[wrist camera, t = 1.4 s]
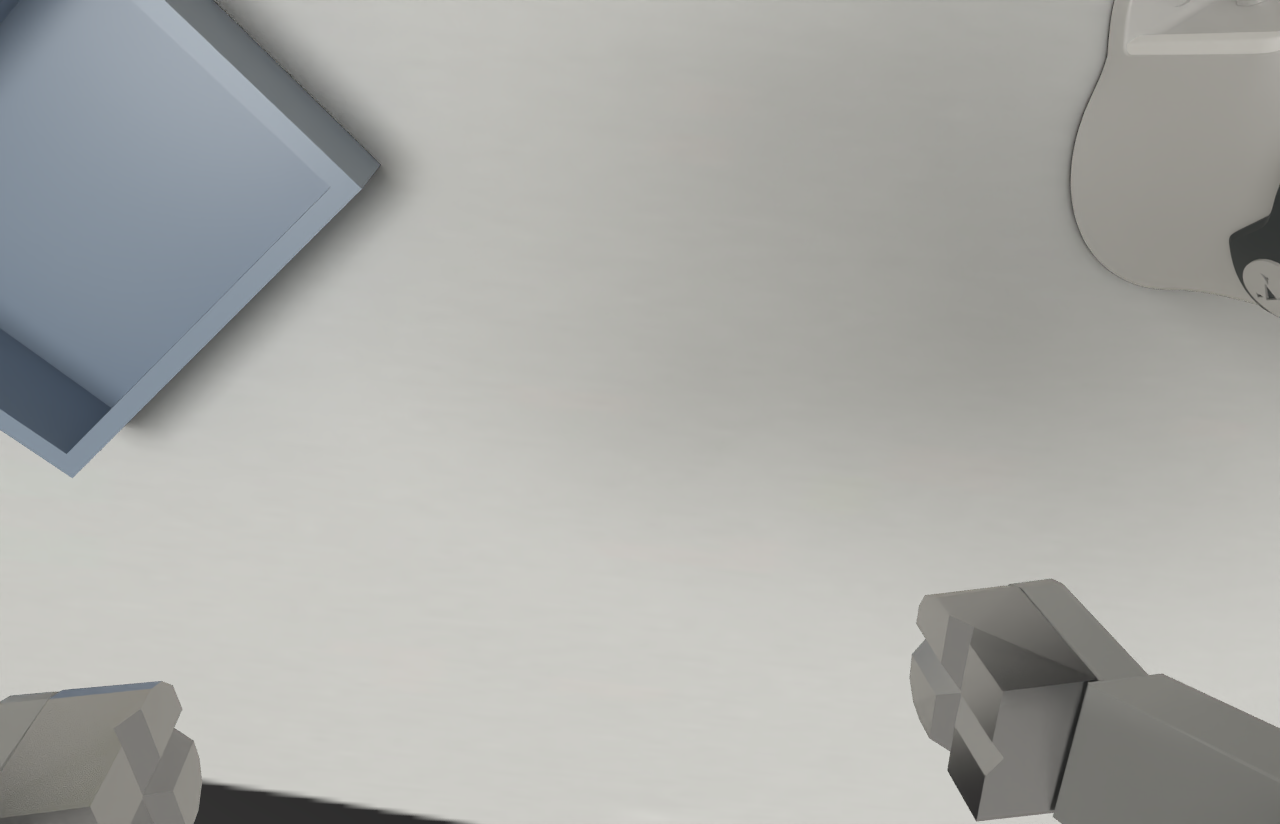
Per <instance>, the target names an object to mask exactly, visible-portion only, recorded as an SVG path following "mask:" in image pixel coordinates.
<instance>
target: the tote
mask: <svg viewBox="0 0 1280 824" xmlns="http://www.w3.org/2000/svg"><path fill="white" fill-rule="evenodd" d="M379 166H380V164H379V163H378V162H377V161H376V160H375V159H374V158H373V157H372V156H371V155H370V154H369V153H368V152H367V151H366V150H365V149H364V148H363V147H362V146H361V145H360V144H359V143H358V142H357V141H356V140H355V139H354V138H353V137H352V136H351V135H350V134H349V133H348V132H347V131H346V130H345V129H344V128H343V127H342V126H341V125H340V124H338V123H337V122H336V121H335V120H334V119H333V118H332V117H331V116H330V115H329V114H328V113H327V112H326V111H325V110H324V109H323V108H322V107H321V106H320V105H319V104H318V103H317V102H316V101H315V100H314V99H313V98H312V97H311V96H310V95H309V94H308V93H307V92H306V91H305V90H304V89H303V88H302V87H301V86H300V85H299V84H298V83H297V82H296V81H295V80H294V79H293V78H292V77H291V76H290V75H289V74H288V73H287V72H286V71H284V70H283V69H282V68H281V67H280V66H279V65H278V64H277V63H276V62H275V61H274V60H273V59H272V58H271V57H270V56H269V55H268V54H267V53H266V52H265V51H264V50H263V49H262V48H261V47H260V46H259V45H258V44H257V43H256V42H255V41H254V40H253V39H252V38H251V37H250V36H249V35H248V34H247V33H246V32H245V31H244V30H243V29H242V28H241V27H240V26H239V25H238V24H237V23H236V22H235V21H234V20H233V19H231V18H230V17H229V16H228V15H227V14H226V13H225V12H224V11H223V10H222V9H221V8H220V7H219V6H218V5H217V4H216V3H215V2H214V1H213V0H0V430H1V431H3V432H4V433H6V434H7V435H9V436H10V437H12V438H13V439H15V440H16V441H18V442H19V443H21V444H22V445H24V446H25V447H27V448H28V449H30V450H31V451H33V452H34V453H36V454H37V455H39V456H40V457H42V458H43V459H45V460H46V461H48V462H49V463H51V464H52V465H54V466H55V467H57V468H58V469H60V470H61V471H63V472H64V473H66V474H67V475H69V476H70V477H72V478H73V477H74V476H75V475H76V474H77V473H78V472H79V471H80V470H81V469H82V468H83V467H84V466H85V465H86V464H87V463H88V462H89V461H90V460H91V459H92V458H93V457H94V456H95V455H96V454H97V453H98V452H99V451H100V450H101V449H102V448H103V447H104V446H105V445H106V444H107V443H108V442H109V441H110V440H111V439H112V438H113V437H114V436H115V435H116V434H117V433H118V432H119V431H120V430H121V429H122V428H123V427H124V426H125V425H126V424H127V423H128V422H129V421H130V420H131V419H132V418H133V417H134V416H135V415H136V414H137V413H138V412H139V411H140V410H141V409H142V408H143V407H144V406H145V405H146V404H147V403H148V402H149V401H150V400H151V399H152V398H153V397H154V396H155V395H156V394H157V393H158V392H159V391H160V390H161V389H162V388H163V387H164V386H165V385H166V384H167V383H168V382H169V381H170V380H171V379H172V378H173V377H174V376H175V375H176V374H177V373H178V372H179V371H180V370H181V369H182V368H183V367H184V366H185V365H186V364H187V363H188V362H189V361H190V360H191V359H192V358H193V357H194V356H195V355H196V354H197V353H198V352H199V351H200V350H201V349H202V348H203V347H204V346H205V345H206V344H207V343H208V342H209V341H210V340H211V339H212V338H213V337H214V336H215V335H216V334H217V333H218V332H219V331H220V330H221V329H222V328H223V327H224V326H225V325H226V324H227V323H228V322H229V321H230V320H231V319H232V318H233V317H234V316H235V315H236V314H237V313H238V312H239V311H240V310H241V309H242V308H243V307H244V306H245V305H246V304H247V303H248V302H249V301H250V300H251V299H252V298H253V297H254V296H255V295H256V294H257V293H258V292H259V291H260V290H261V289H262V288H263V287H264V286H265V285H266V284H267V283H268V282H269V281H270V280H271V279H272V278H273V277H274V276H275V275H276V274H277V273H278V272H279V271H280V270H281V269H282V268H283V267H284V266H285V265H286V264H287V263H288V262H289V261H290V260H291V259H292V258H293V257H294V256H295V255H296V254H297V253H298V252H299V251H300V250H301V249H302V248H303V247H304V246H305V245H306V244H307V243H308V242H309V241H310V240H311V239H312V238H313V237H314V236H315V235H316V234H317V233H318V232H319V231H320V230H321V229H322V228H323V227H324V226H325V225H326V224H327V223H328V222H329V221H330V220H331V219H332V218H333V217H334V216H335V215H336V214H337V213H338V212H339V211H340V210H341V209H342V208H343V207H344V206H345V205H346V204H347V203H348V202H349V201H350V200H351V199H352V198H353V197H354V196H355V195H356V194H357V193H358V192H359V191H360V190H361V189H362V188H363V187H364V186H365V184H366V183H367V182H368V180H369V179H370V178H371V177H372V175H373V174H374V173H375V171H376V170H377V169H378V168H379Z"/></svg>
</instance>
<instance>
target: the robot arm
mask: <svg viewBox="0 0 1280 824" xmlns="http://www.w3.org/2000/svg"><path fill="white" fill-rule="evenodd" d="M1071 197H1072V204H1073V210H1074V214H1075V218H1076V222H1077V225H1078V228H1079V230H1080V232H1081V235H1082V237H1083V239H1084V241H1085V243H1086V244H1087V246H1088V248H1089V249H1090V251H1091V252H1092V253H1093V255H1094V256H1095V257H1096V258H1097V259H1098V261H1099V262H1100V263H1102V264H1103V265H1104V266H1105V267H1106V268H1107V269H1108V270H1110V271H1111V272H1112V273H1114V274H1115V275H1117V276H1118V277H1120V278H1122V279H1124V280H1126V281H1128V282H1131V283H1133V284H1136V285H1139V286H1142V287H1147V288H1152V289H1161V290H1184V291H1196V292H1203V293H1209V294H1215V295H1220V296H1225V297H1229V298H1233V299H1237V300H1241V301H1245V302H1249V303H1253V304H1256V305H1259V306H1261V307H1262V308H1263V309H1265V310H1266V311H1268V312H1270V313H1272V314H1274V315H1276V316H1277V317H1279V318H1280V0H1115V1H1114V5H1113V10H1112V16H1111V23H1110V32H1109V42H1108V55H1107V59H1106V62H1105V66H1104V68H1103V71H1102V74H1101V76H1100V79H1099V81H1098V83H1097V85H1096V87H1095V90H1094V92H1093V94H1092V96H1091V98H1090V101H1089V103H1088V105H1087V107H1086V110H1085V112H1084V115H1083V118H1082V121H1081V124H1080V127H1079V130H1078V134H1077V137H1076V141H1075V146H1074V151H1073V157H1072V165H1071ZM916 624H917V626H918V627H919V629H920V631H921V632H922V634H923V635H924V637H925V640H924V641H923V643H922V644H921V645H920V646H919V647H918V648H917V649H916V650H915V652H914V653H913V654H912V659H911V669H910V684H911V691H912V697H913V703H914V706H915V708H916V711H917V714H918V717H919V720H920V722H921V724H922V725H923V727H924V729H925V731H926V733H927V735H928V737H929V738H930V739H932V740H933V741H935V742H936V743H938V744H939V745H941V746H943V747H944V748H946V749H947V750H949V751H950V757H949V763H948V770H947V771H948V772H949V774H950V776H951V778H952V779H953V781H954V783H955V785H956V786H957V788H958V790H959V792H960V794H961V795H962V797H963V799H964V801H965V802H966V804H967V806H968V808H969V809H970V811H971V813H972V815H973V816H974V818H975V820H976V821H984V820H993V819H1002V818H1011V817H1020V816H1029V815H1038V814H1046V813H1054V814H1053V817H1054V818H1055V819H1056V820H1058V821H1059V822H1060V823H1062V824H1280V728H1278V727H1276V726H1274V725H1271V724H1269V723H1267V722H1265V721H1263V720H1261V719H1259V718H1256V717H1254V716H1252V715H1250V714H1248V713H1246V712H1243V711H1241V710H1239V709H1237V708H1235V707H1233V706H1231V705H1228V704H1226V703H1224V702H1222V701H1220V700H1218V699H1216V698H1213V697H1211V696H1209V695H1207V694H1205V693H1203V692H1200V691H1198V690H1196V689H1194V688H1192V687H1190V686H1188V685H1185V684H1183V683H1181V682H1179V681H1177V680H1175V679H1173V678H1170V677H1168V676H1166V675H1164V674H1155V675H1148V674H1147V673H1146V672H1145V671H1144V670H1143V668H1142V667H1141V666H1140V665H1139V664H1138V663H1137V662H1136V661H1135V660H1134V659H1133V658H1132V657H1131V656H1130V655H1129V654H1128V653H1127V651H1126V650H1125V649H1124V648H1123V647H1122V646H1121V645H1120V644H1119V643H1118V642H1117V641H1116V640H1115V639H1114V638H1113V637H1112V635H1111V634H1110V633H1109V632H1108V631H1107V630H1106V629H1105V628H1104V627H1103V626H1102V625H1101V624H1100V623H1099V622H1098V621H1097V620H1096V618H1095V617H1094V616H1093V615H1092V614H1091V613H1090V612H1089V611H1088V610H1087V609H1086V608H1085V607H1084V606H1083V605H1082V604H1081V602H1080V601H1079V600H1078V599H1077V598H1076V597H1075V596H1074V595H1073V594H1072V593H1071V592H1070V591H1069V590H1068V589H1067V588H1066V587H1065V585H1063V584H1062V583H1060V582H1058V581H1056V580H1054V579H1044V580H1037V581H1029V582H1022V583H1014V584H1009V585H1008V586H998V587H990V588H981V589H973V590H964V591H956V592H948V593H939V594H931V595H925V596H924V598H923V600H922V601H921V603H920V605H919V609H918V616H917V622H916ZM181 711H182V707H181V704H180V702H179V699H178V697H177V695H176V692H175V690H174V687H173V685H171V684H168V683H165V682H163V681H158V682H146V683H135V684H124V685H113V686H102V687H91V688H80V689H69V690H62V691H60V692H46V693H35V694H24V695H13V696H9V697H7V698H6V699H4V700H2V701H0V824H193V823H194V821H195V818H196V815H197V811H198V809H199V800H200V792H201V784H202V776H201V767H200V758H199V755H198V752H197V749H196V746H195V743H194V741H193V740H192V739H190V738H189V737H187V736H186V735H184V734H183V733H181V732H180V731H178V730H177V729H175V728H174V727H175V725H176V722H177V720H178V718H179V716H180V713H181Z"/></svg>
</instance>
